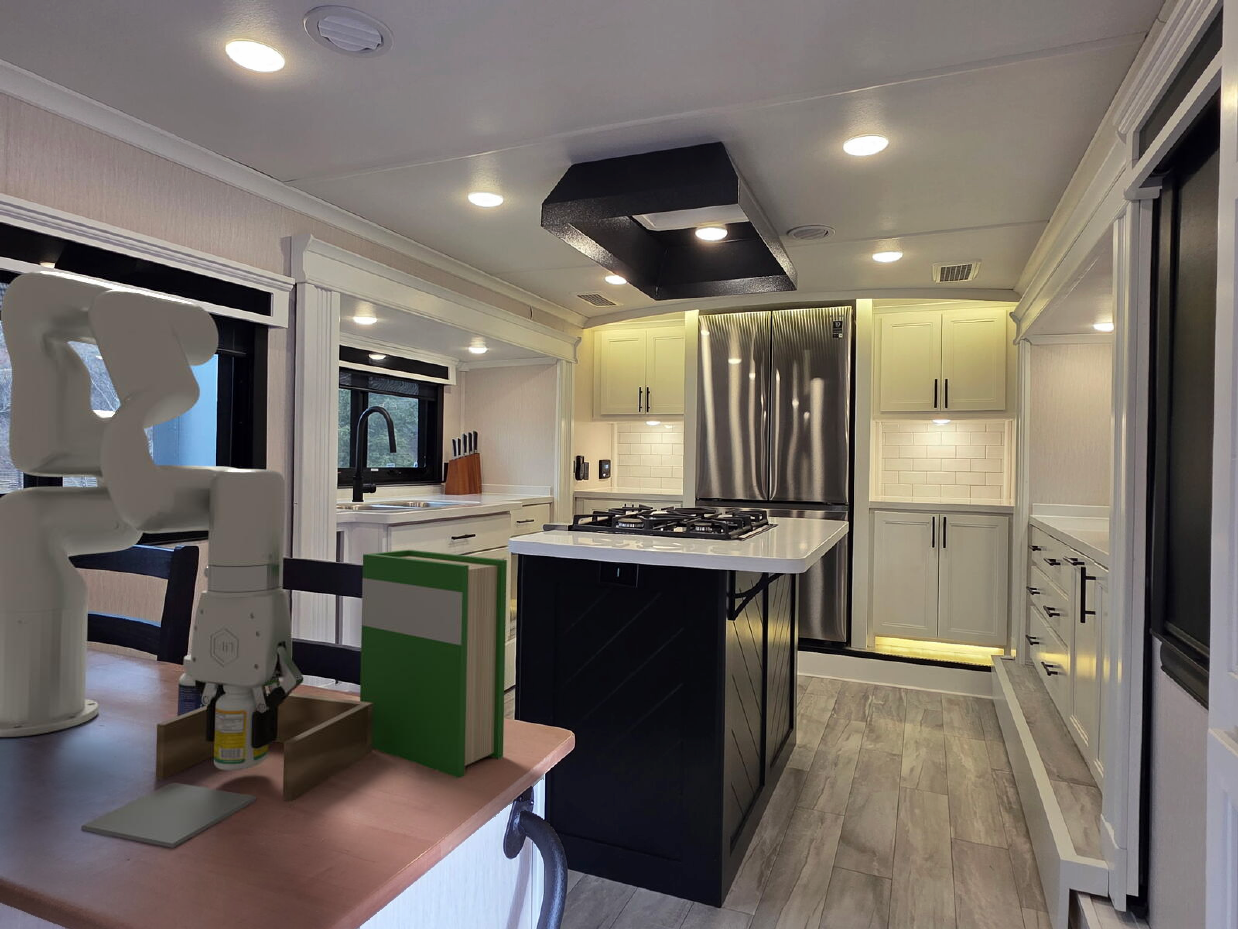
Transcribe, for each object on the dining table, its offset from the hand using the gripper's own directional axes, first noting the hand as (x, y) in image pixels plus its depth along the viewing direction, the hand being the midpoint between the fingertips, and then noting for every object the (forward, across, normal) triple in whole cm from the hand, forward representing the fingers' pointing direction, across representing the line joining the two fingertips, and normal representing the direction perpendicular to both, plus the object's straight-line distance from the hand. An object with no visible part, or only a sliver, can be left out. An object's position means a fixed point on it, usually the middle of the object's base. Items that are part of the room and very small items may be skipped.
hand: (241, 739), depth 81 cm
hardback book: (+4, +16, +14) cm, 21 cm away
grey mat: (+4, 0, -9) cm, 10 cm away
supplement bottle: (+3, 0, 0) cm, 3 cm away
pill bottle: (+5, -16, +10) cm, 19 cm away
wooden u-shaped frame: (+4, 0, +4) cm, 6 cm away
